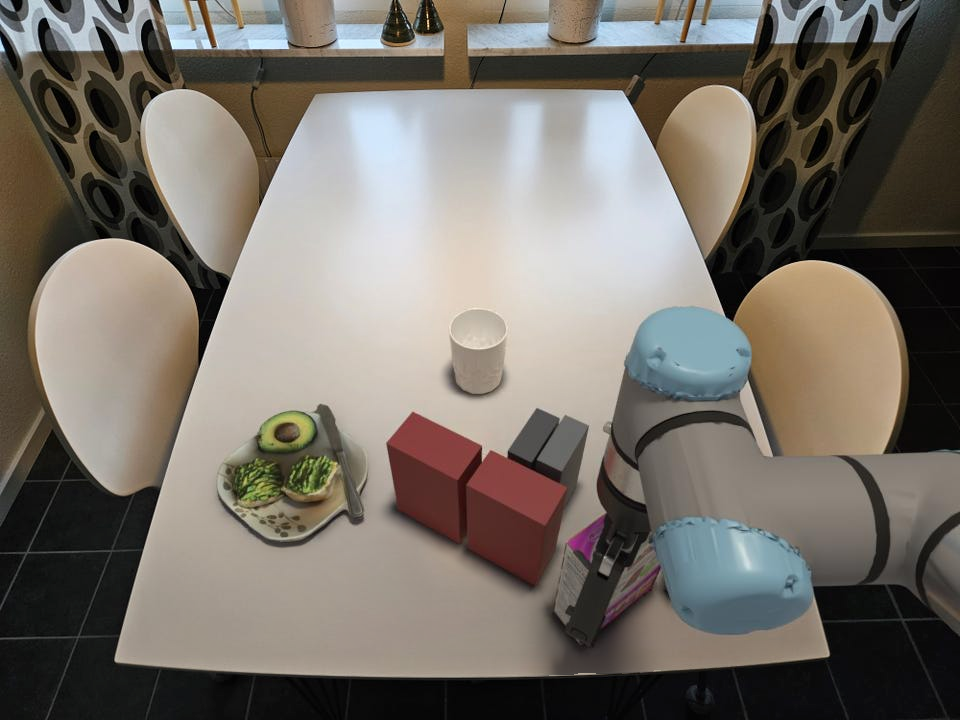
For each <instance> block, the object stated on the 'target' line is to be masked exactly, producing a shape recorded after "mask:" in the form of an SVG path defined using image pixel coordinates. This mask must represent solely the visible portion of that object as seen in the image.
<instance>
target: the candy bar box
mask: <svg viewBox="0 0 960 720" xmlns="http://www.w3.org/2000/svg"><path fill="white" fill-rule="evenodd" d="M606 513H607V512H606V511H605V513H604V514H602V515H601V516H599V517H598V518H596V520H594V521H593V522H591V523H590V524H588V525H587V526H586V527H584V528H583V529H581V530H580V531H578V533H576V534H574V535H573V536H572V537H570V538H569V539H568V540H566V541H565V546H564V552H563V557H562V562H561V567H560V572H559V578H558V579H559V580H558V584H557V590H556V593H555V598H554V599H555V600H554V605H553V612H554V613H555V615H556V616H557V617H558V619H559V620H560V621H561V622H562V623H563V624H564V626H566V624H567V622H569V620H570V617H571V616H569V615H567V614H565V611H566V609H567V608H568V606H569V605H571V606H573V607H575V605H576V602H577V599H578V597H579V594H580V592H581V589H582V587H583V584H584V582H585V579H586V576H587V574H588V571H589V568H590V565H591V562H592V559H593V556H592V555H593V553H594V551H596V545H597V542H598V540H599V537H600V535H601V533H602V530H603V528H604V518H605V515H606ZM637 537H638V536H637ZM652 539H653V537H652V532H650V533H649V535H648V538H647V540H646V541H645V542H644V543H642V544H641V546H640V549H639V551H638V553H637V556H636V558H635V560H634V562H633V564H632V566H631V567H626V568H625V569H624V572H623V573H622V575H621V578H620V580H619V582H618V585H617V587H616V589H615V592H614V594H613V596H612V599H611V601H610V603H609V605H608V608H607V610H606V612H605V616H606V618H605V620H604V623H603V625H602V628H601V630H602V629H603V628H605V627H606V626H607V625H608V624H609V623H611V622H612V621H613V620H614V619H615V618H617V617H618V616H619V615H621V614H622V613H623V612H624V611H626V609H628V608H629V607H630V606H631V605H633V604H634V603H635V602H637V601H638V600H639V599H640V598H641V597H642V596H644V595H645V594H646V593H648V592H649V591H650V590H651V589H652V588H654V585H655V583H656V580H657V579H658V576H659V574H660V571H661V566H660V563H659V560H658V559H657V557H656V553H655V551H654V550H653V545H652ZM636 540H637V538H636ZM636 540H635V542H636ZM606 541H607V543H609V544H611V543H610V542H609V541H608V539H607V538H606ZM635 542H634V544H635ZM634 544H633V545H632V546H631V547H630V548H629V549H621V550H622V551H624V552H626V553H631V551H632V549H633V546H634ZM575 640H576V642H577V643H578V644H579V645H580V646H582V645H585V644H584V643H582V642H581V641H579V640H577V639H575Z"/></svg>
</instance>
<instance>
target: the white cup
mask: <svg viewBox="0 0 960 720" xmlns="http://www.w3.org/2000/svg"><path fill="white" fill-rule="evenodd" d="M507 323H508V322H507V321H506V319H505V318H504V317H503V316H502V315H501V314H500V313H499V312H496V311H495V310H492V309H488V308H485V307H473V308H472V307H471V308H468V309H464V310H462V311H460V312H458V313H457V314H456V315H454V316H453V317H452V318H451V320H450V322H449V324H448V333H449V344H450V352H451V360H452V367H453V370H454V378H455V382H456V384H457V385H458V387H459V388H460V389H461V390H462V391H465V392H467V393H470V394H472V395H483V394H484V395H485V394H487V393H489V392H493V391H494V390H495V389H496V388H497V387H498V386H499V385H500V384H501V380H502V377H503V369H504V365H505V360H506V359H505V358H506V351H507V340H508V332H509V327H508V324H507Z"/></svg>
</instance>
